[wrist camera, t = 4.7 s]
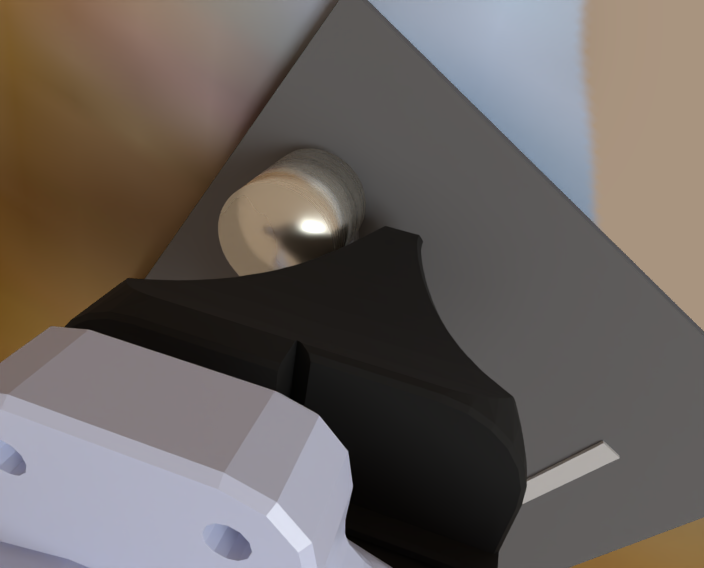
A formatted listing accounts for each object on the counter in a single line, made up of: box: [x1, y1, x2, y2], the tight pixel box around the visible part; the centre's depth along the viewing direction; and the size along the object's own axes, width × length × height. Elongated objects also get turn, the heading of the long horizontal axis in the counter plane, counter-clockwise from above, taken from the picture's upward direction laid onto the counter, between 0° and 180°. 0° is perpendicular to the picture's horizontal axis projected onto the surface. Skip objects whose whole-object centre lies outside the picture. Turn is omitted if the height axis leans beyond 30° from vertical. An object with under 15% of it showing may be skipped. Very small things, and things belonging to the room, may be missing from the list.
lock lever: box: [218, 148, 366, 276], centre depth 14 cm, size 14×4×2 cm, turn 2°
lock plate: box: [145, 0, 704, 568], centre depth 16 cm, size 16×15×1 cm
